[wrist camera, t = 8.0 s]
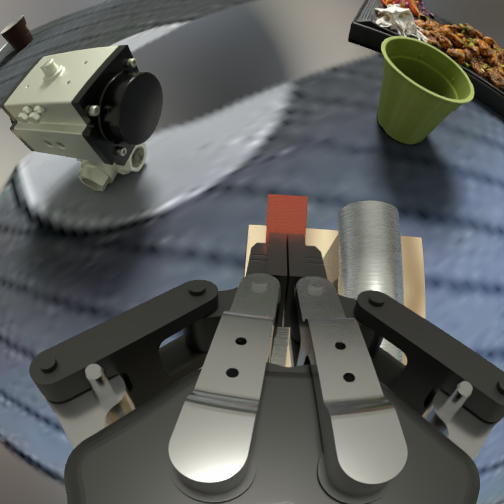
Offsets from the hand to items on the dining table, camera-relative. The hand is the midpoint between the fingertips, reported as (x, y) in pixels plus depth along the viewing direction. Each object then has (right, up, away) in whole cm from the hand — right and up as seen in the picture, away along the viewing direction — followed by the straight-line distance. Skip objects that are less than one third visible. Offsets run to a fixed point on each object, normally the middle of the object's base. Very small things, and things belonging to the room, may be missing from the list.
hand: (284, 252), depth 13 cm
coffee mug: (-71, +65, +40) cm, 105 cm away
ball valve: (-19, +11, +21) cm, 30 cm away
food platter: (+41, +39, +27) cm, 63 cm away
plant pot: (+19, +17, +21) cm, 33 cm away
